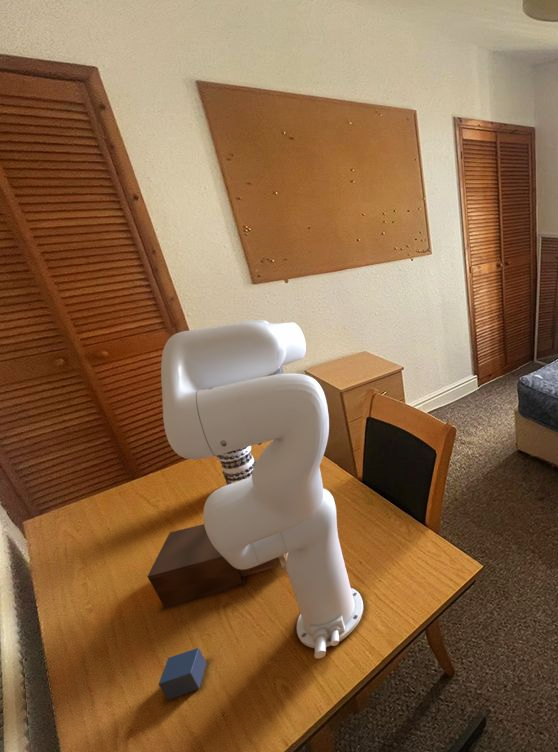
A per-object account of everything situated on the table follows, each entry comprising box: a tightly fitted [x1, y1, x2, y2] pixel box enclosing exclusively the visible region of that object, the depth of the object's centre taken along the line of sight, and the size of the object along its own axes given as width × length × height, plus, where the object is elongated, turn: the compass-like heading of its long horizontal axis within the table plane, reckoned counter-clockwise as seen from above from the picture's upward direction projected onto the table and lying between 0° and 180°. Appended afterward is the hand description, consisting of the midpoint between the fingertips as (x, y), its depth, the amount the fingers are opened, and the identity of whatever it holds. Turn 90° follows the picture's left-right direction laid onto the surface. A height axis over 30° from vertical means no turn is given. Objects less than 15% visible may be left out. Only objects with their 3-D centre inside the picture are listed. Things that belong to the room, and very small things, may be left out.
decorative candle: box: [216, 446, 257, 485], centre depth 117 cm, size 9×9×25 cm
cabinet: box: [147, 523, 246, 609], centre depth 91 cm, size 15×13×10 cm
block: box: [158, 647, 207, 701], centre depth 72 cm, size 5×5×5 cm
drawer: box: [238, 553, 288, 577], centre depth 95 cm, size 18×11×8 cm, turn 112°
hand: (283, 439), depth 97 cm, fingers open, 9 cm apart
